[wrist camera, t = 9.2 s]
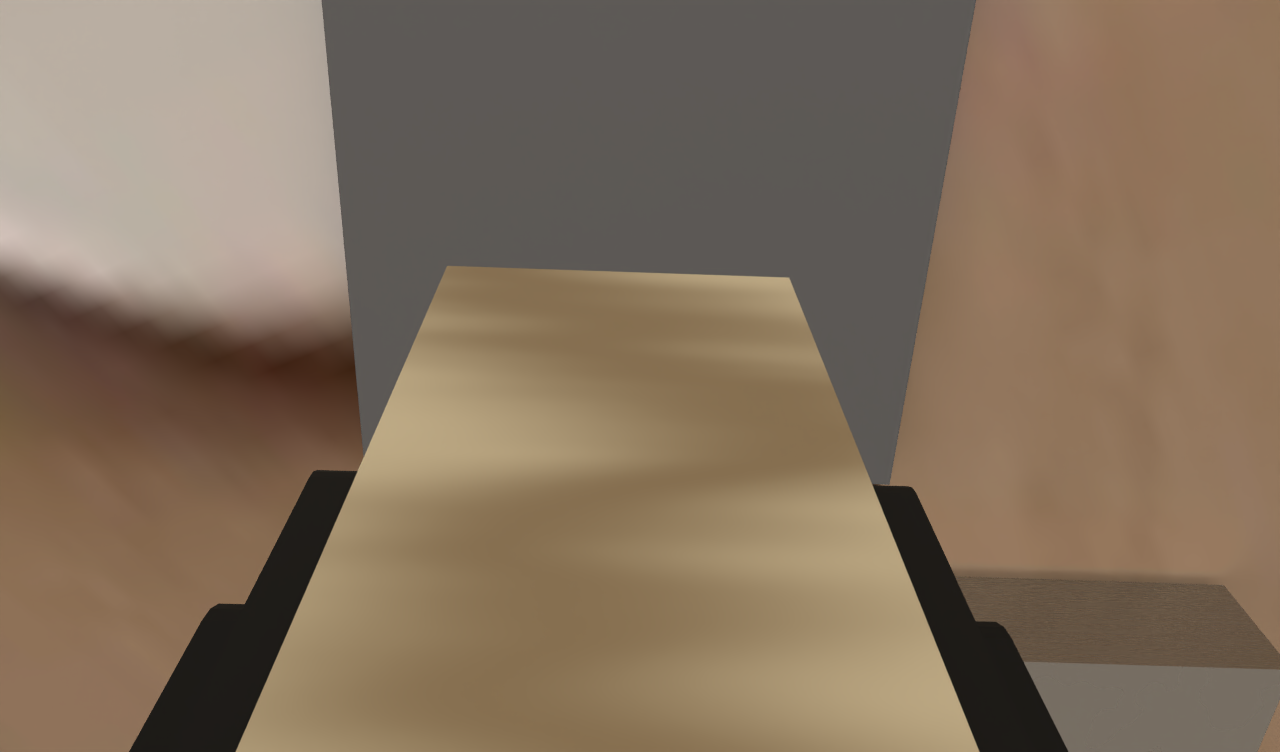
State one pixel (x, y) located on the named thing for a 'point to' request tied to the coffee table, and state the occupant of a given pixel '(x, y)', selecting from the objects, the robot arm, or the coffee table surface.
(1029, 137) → the coffee table surface
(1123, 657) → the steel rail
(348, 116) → the charcoal mat
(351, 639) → the birch peg
